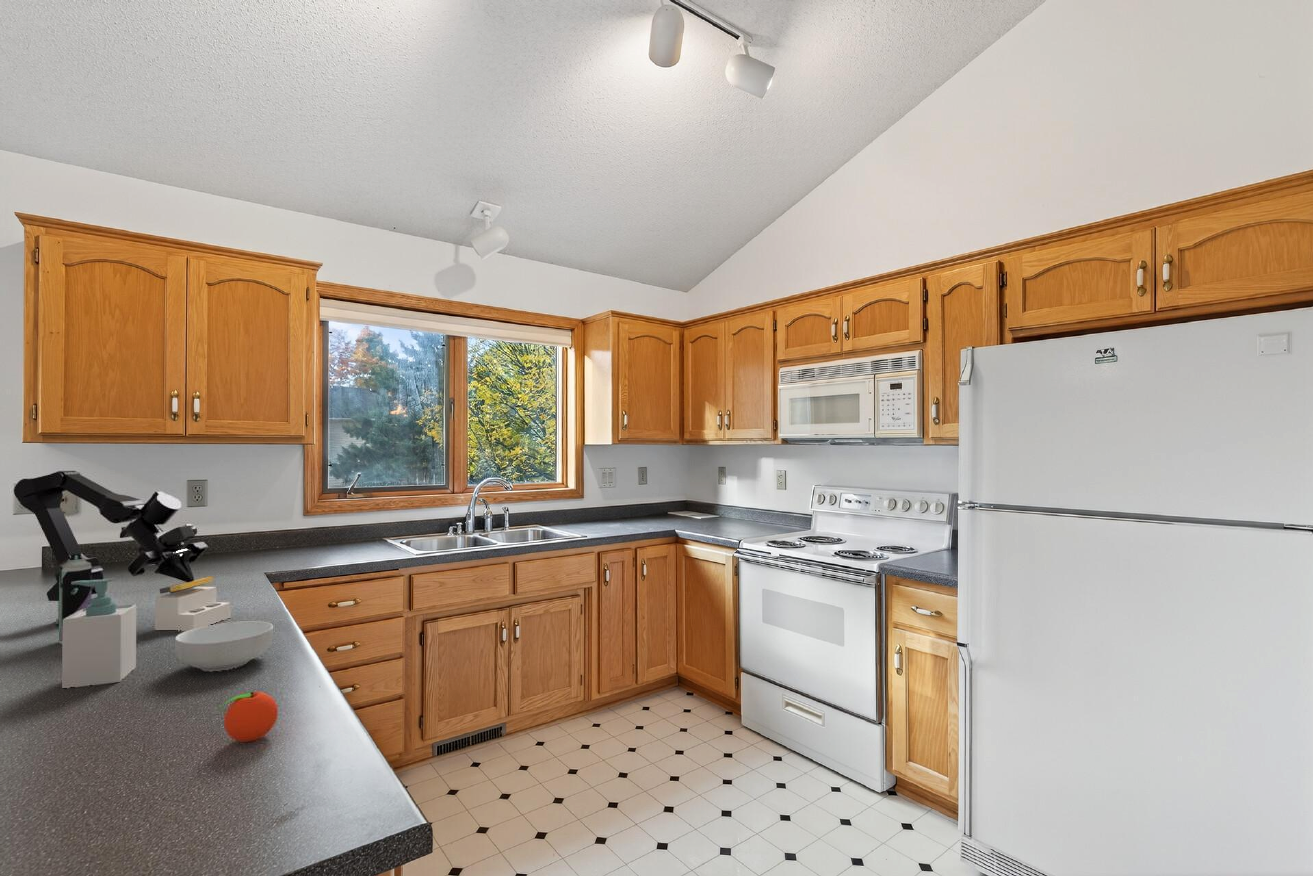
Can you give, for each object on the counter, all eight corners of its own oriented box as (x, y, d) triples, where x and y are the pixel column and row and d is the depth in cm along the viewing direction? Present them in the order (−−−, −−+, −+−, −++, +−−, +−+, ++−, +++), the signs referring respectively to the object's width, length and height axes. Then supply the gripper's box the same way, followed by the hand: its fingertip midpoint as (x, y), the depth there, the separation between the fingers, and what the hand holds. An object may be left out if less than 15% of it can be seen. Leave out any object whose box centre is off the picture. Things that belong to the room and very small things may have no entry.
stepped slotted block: (155, 630, 154) (155, 597, 154) (194, 617, 166) (195, 586, 166) (193, 631, 153) (193, 598, 154) (230, 618, 165) (231, 587, 166)
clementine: (210, 755, 92) (210, 705, 92) (221, 735, 98) (221, 689, 98) (274, 745, 95) (274, 697, 95) (280, 726, 101) (281, 681, 101)
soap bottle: (80, 674, 125) (81, 576, 125) (136, 668, 128) (137, 573, 128) (60, 689, 117) (61, 585, 117) (120, 682, 120) (120, 581, 120)
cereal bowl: (284, 664, 130) (284, 629, 130) (184, 687, 118) (185, 649, 118) (259, 647, 141) (259, 615, 142) (166, 666, 129) (166, 631, 129)
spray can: (71, 645, 143) (72, 556, 143) (52, 643, 144) (53, 555, 144) (97, 637, 148) (98, 552, 149) (78, 636, 150) (79, 551, 150)
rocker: (160, 595, 155) (159, 588, 155) (193, 586, 165) (192, 580, 165) (181, 591, 155) (180, 584, 155) (213, 583, 165) (212, 576, 165)
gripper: (138, 519, 151) (182, 565, 150) (201, 511, 170) (240, 552, 169) (108, 552, 152) (151, 598, 151) (173, 540, 171) (212, 582, 169)
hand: (191, 581), depth 160 cm, fingers closed, pressing on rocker
